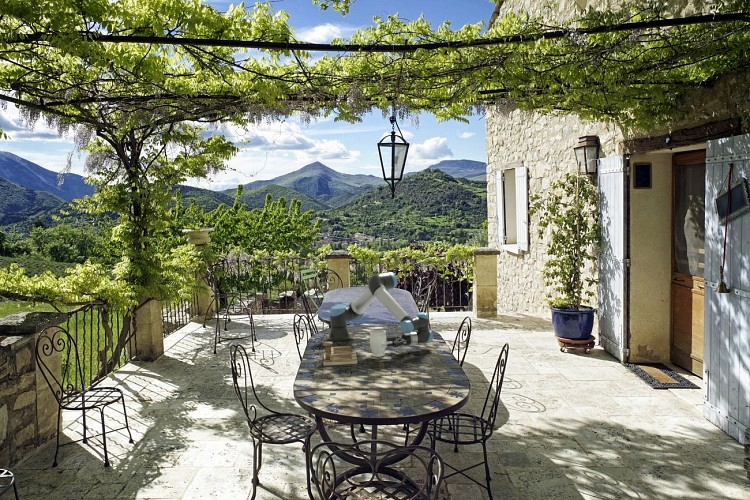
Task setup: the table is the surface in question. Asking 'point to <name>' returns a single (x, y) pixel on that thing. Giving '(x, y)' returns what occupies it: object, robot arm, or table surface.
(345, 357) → the tan wooden platform
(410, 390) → the table surface
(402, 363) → the table surface
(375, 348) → the jar
